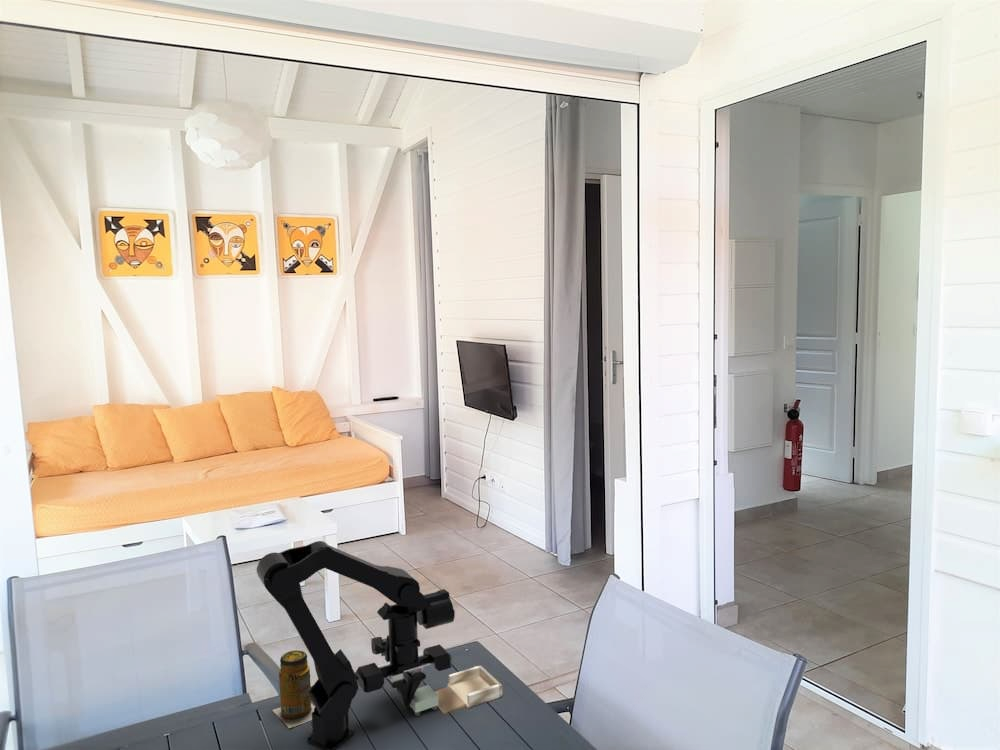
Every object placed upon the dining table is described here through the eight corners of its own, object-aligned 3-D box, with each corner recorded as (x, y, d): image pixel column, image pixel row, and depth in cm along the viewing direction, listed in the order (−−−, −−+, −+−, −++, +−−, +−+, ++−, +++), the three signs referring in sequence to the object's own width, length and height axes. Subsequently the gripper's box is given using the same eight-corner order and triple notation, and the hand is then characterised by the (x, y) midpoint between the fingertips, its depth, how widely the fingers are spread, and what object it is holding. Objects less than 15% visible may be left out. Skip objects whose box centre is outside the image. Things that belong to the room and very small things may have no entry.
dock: (445, 717, 146) (445, 703, 145) (426, 695, 154) (425, 682, 153) (502, 698, 152) (502, 685, 152) (480, 677, 160) (480, 665, 160)
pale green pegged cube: (415, 717, 145) (415, 700, 144) (406, 706, 149) (406, 689, 149) (438, 710, 147) (437, 693, 147) (429, 699, 152) (428, 682, 151)
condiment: (305, 698, 153) (302, 644, 152) (323, 715, 147) (320, 659, 145) (272, 711, 148) (268, 655, 147) (289, 729, 142) (285, 672, 141)
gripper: (429, 608, 156) (431, 676, 158) (345, 629, 147) (348, 701, 149) (452, 628, 146) (454, 701, 148) (363, 652, 137) (366, 729, 139)
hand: (405, 707), depth 146 cm, fingers closed
